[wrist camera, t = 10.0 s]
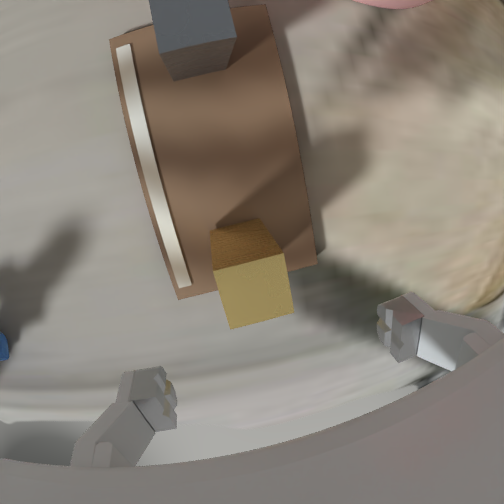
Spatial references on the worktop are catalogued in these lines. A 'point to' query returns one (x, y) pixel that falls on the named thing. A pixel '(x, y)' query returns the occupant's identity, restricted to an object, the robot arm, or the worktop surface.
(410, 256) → the worktop surface
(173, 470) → the robot arm
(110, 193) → the worktop surface
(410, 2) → the cake
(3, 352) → the grapes
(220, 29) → the grey rectangular block
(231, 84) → the brown flat rectangular board
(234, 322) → the wooden block
